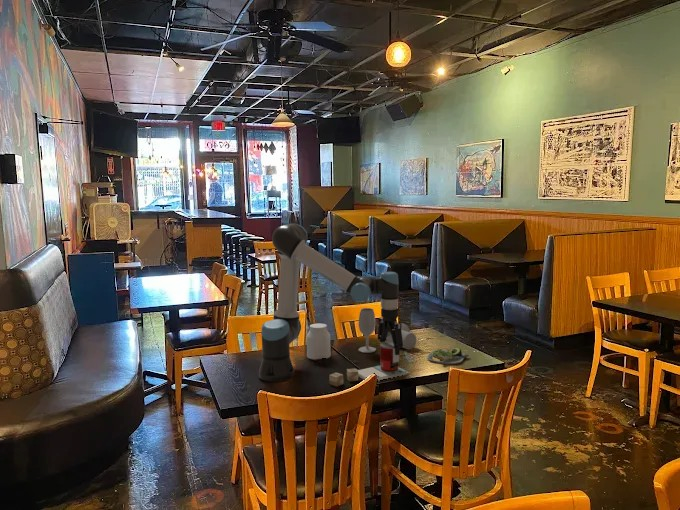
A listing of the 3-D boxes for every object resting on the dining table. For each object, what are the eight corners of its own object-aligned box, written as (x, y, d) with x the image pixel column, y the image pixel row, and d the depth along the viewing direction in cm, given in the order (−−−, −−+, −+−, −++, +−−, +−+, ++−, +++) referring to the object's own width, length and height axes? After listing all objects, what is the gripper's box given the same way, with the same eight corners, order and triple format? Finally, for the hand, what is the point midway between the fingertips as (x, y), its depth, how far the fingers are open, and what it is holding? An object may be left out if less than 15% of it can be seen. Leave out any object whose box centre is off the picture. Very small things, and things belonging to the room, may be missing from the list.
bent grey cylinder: (374, 340, 266) (400, 349, 250) (377, 320, 266) (404, 328, 250) (398, 341, 276) (425, 350, 260) (401, 322, 276) (428, 330, 260)
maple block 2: (348, 381, 211) (348, 372, 211) (346, 378, 215) (346, 369, 215) (358, 380, 212) (358, 371, 212) (356, 377, 216) (355, 368, 215)
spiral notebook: (370, 383, 209) (370, 380, 208) (352, 373, 221) (352, 370, 220) (408, 374, 219) (408, 371, 218) (389, 364, 231) (389, 362, 230)
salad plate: (460, 369, 224) (460, 359, 224) (421, 364, 232) (421, 354, 232) (470, 357, 241) (470, 347, 241) (433, 352, 250) (434, 343, 249)
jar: (308, 360, 239) (308, 329, 237) (305, 353, 248) (304, 324, 246) (332, 357, 242) (332, 327, 240) (328, 351, 251) (327, 322, 249)
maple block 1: (336, 386, 206) (336, 377, 205) (329, 384, 209) (329, 375, 208) (343, 384, 209) (343, 374, 208) (336, 381, 211) (336, 372, 211)
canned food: (393, 373, 216) (393, 348, 215) (377, 370, 221) (376, 345, 219) (401, 368, 223) (401, 343, 222) (385, 364, 227) (385, 341, 226)
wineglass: (379, 349, 253) (379, 308, 251) (370, 354, 246) (370, 312, 243) (364, 347, 258) (363, 306, 255) (355, 351, 251) (354, 310, 248)
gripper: (411, 311, 212) (411, 364, 214) (382, 302, 230) (383, 351, 232) (397, 313, 208) (397, 367, 211) (369, 304, 226) (369, 354, 229)
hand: (389, 359), depth 221 cm, fingers closed on canned food, 8 cm apart
